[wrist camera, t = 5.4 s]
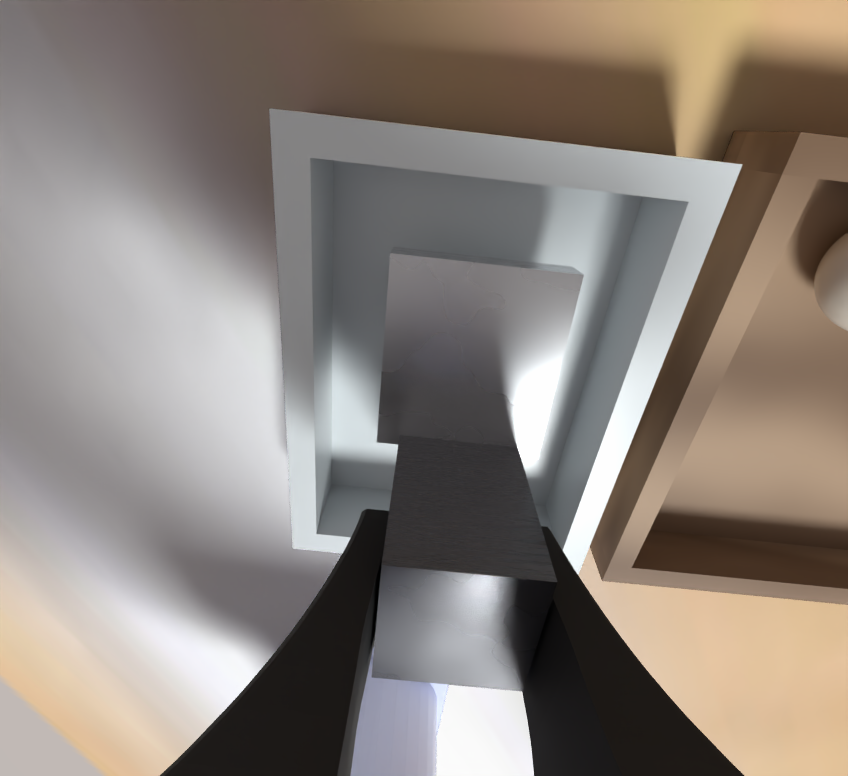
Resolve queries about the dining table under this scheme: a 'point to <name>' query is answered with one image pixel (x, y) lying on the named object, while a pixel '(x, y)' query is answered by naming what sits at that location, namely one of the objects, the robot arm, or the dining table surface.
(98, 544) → the dining table surface
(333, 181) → the bin
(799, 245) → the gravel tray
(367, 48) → the dining table surface
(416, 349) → the grey l-shaped block
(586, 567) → the dining table surface
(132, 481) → the dining table surface
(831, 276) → the pebble
